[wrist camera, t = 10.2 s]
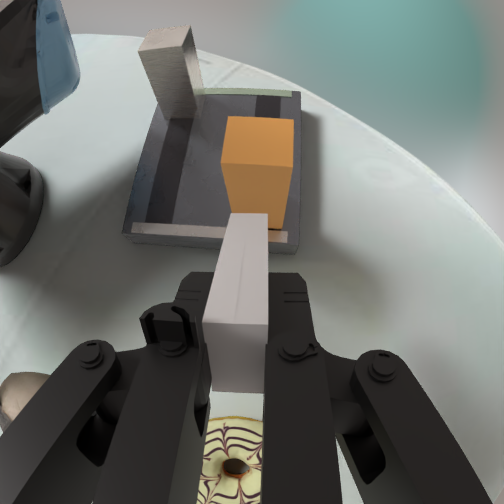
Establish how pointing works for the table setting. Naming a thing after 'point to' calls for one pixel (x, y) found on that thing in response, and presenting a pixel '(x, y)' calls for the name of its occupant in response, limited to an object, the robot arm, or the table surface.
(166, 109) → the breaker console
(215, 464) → the decorated donut
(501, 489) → the table surface
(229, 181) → the handle
